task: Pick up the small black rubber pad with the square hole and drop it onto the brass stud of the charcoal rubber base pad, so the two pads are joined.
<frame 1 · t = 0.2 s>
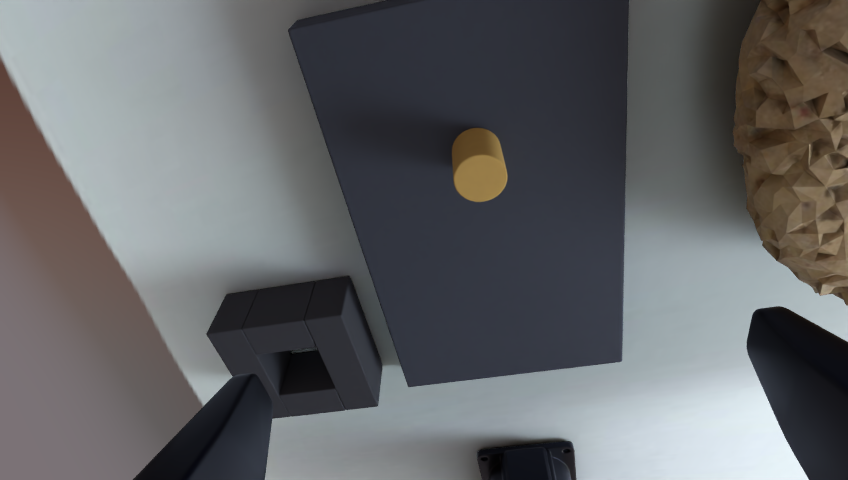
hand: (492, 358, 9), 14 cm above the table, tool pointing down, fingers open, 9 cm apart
base pad: (486, 212, 25), on the table
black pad: (308, 331, 29), on the table
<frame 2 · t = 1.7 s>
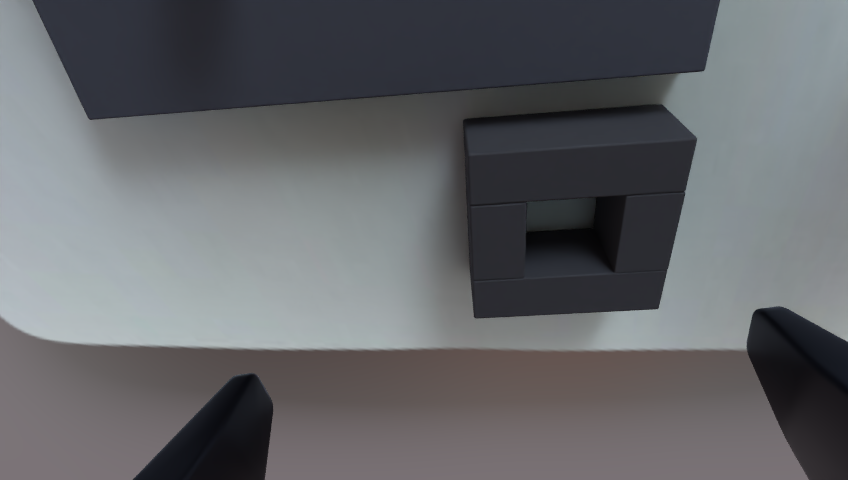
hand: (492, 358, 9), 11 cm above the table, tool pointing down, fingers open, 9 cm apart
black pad: (555, 196, 20), on the table
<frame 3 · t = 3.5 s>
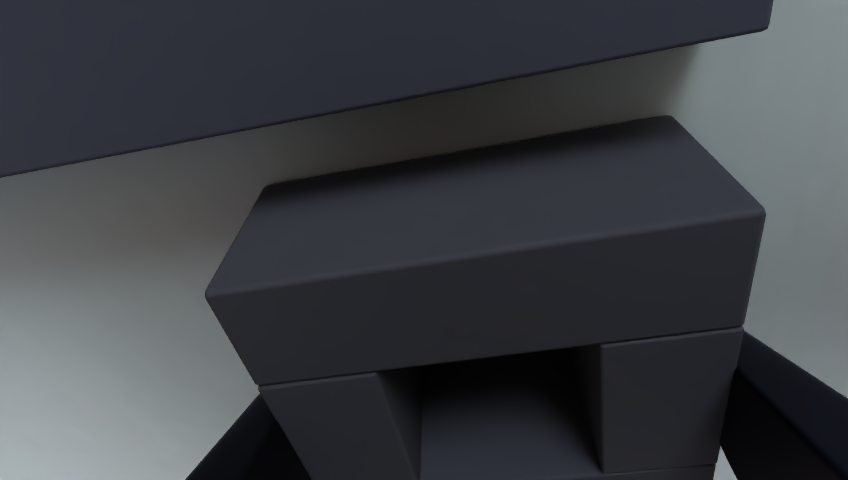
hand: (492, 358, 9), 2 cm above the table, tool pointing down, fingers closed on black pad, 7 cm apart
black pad: (484, 302, 11), on the table, touching gripper
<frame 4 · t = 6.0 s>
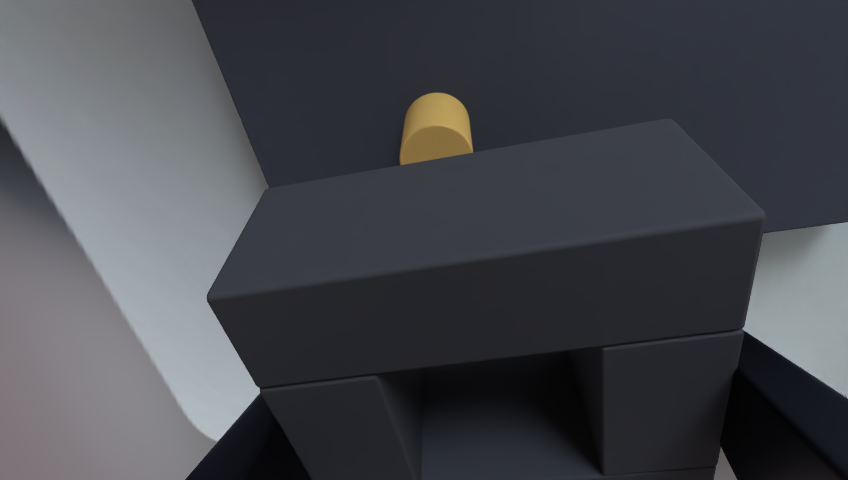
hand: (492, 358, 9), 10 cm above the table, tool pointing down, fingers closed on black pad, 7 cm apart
base pad: (559, 84, 17), on the table
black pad: (485, 304, 11), point 9 cm above the table, touching gripper
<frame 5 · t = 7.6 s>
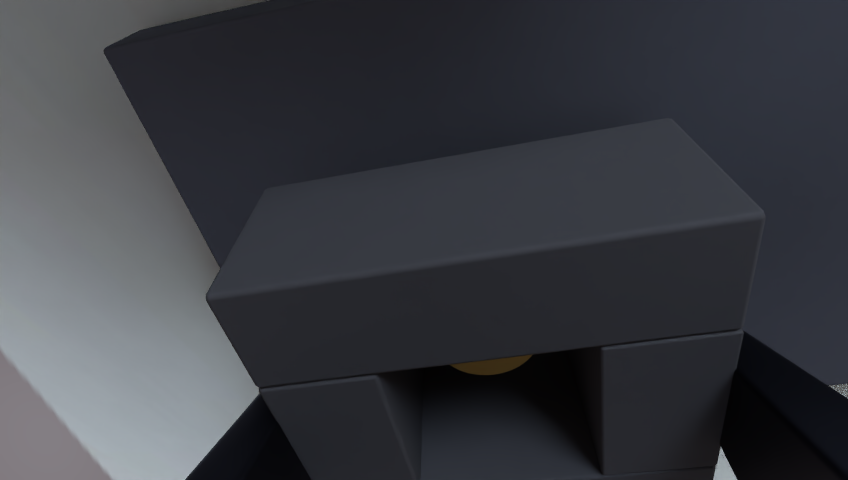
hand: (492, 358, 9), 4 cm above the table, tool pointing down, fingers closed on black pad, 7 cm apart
base pad: (637, 199, 13), on the table
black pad: (484, 304, 11), point 3 cm above the table, touching gripper
when the fingers open (3 cm above the table, at t = 8.6 s): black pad stays where it is, resting on base pad.
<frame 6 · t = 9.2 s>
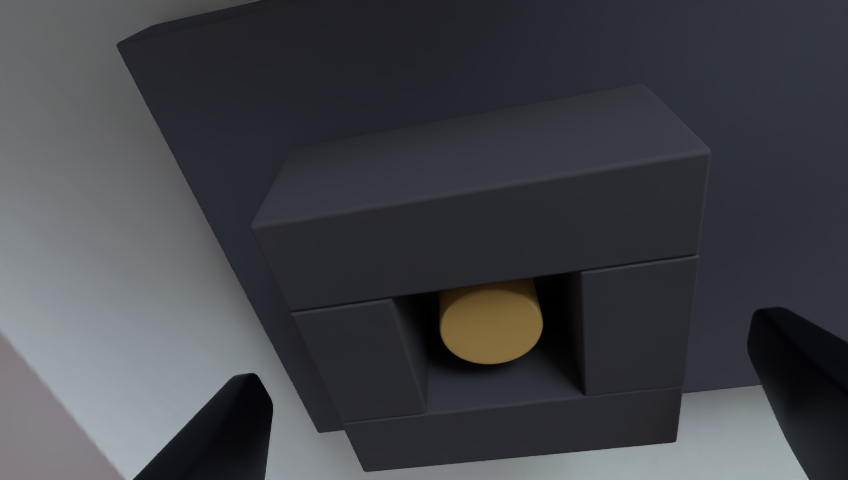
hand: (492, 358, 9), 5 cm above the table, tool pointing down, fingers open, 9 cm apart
base pad: (638, 193, 13), on the table
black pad: (483, 256, 12), point 1 cm above the table, touching base pad
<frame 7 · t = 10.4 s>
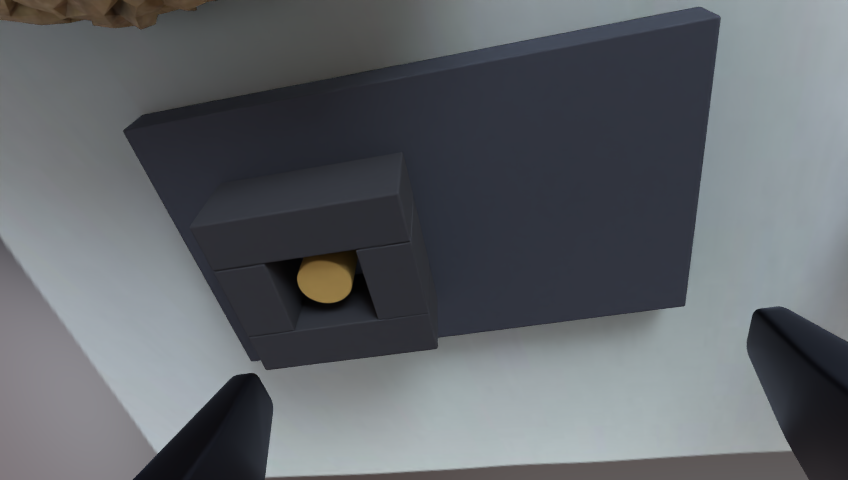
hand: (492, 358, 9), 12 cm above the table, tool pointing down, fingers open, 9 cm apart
base pad: (433, 208, 21), on the table
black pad: (336, 244, 21), point 1 cm above the table, touching base pad
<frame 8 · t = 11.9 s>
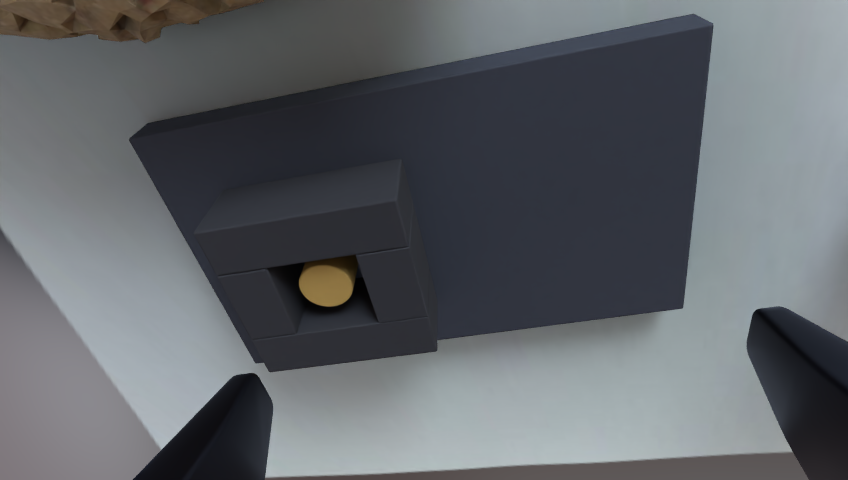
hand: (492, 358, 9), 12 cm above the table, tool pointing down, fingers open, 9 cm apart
base pad: (433, 212, 22), on the table
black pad: (337, 248, 21), point 1 cm above the table, touching base pad
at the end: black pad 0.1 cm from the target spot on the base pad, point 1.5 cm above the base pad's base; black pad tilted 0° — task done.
